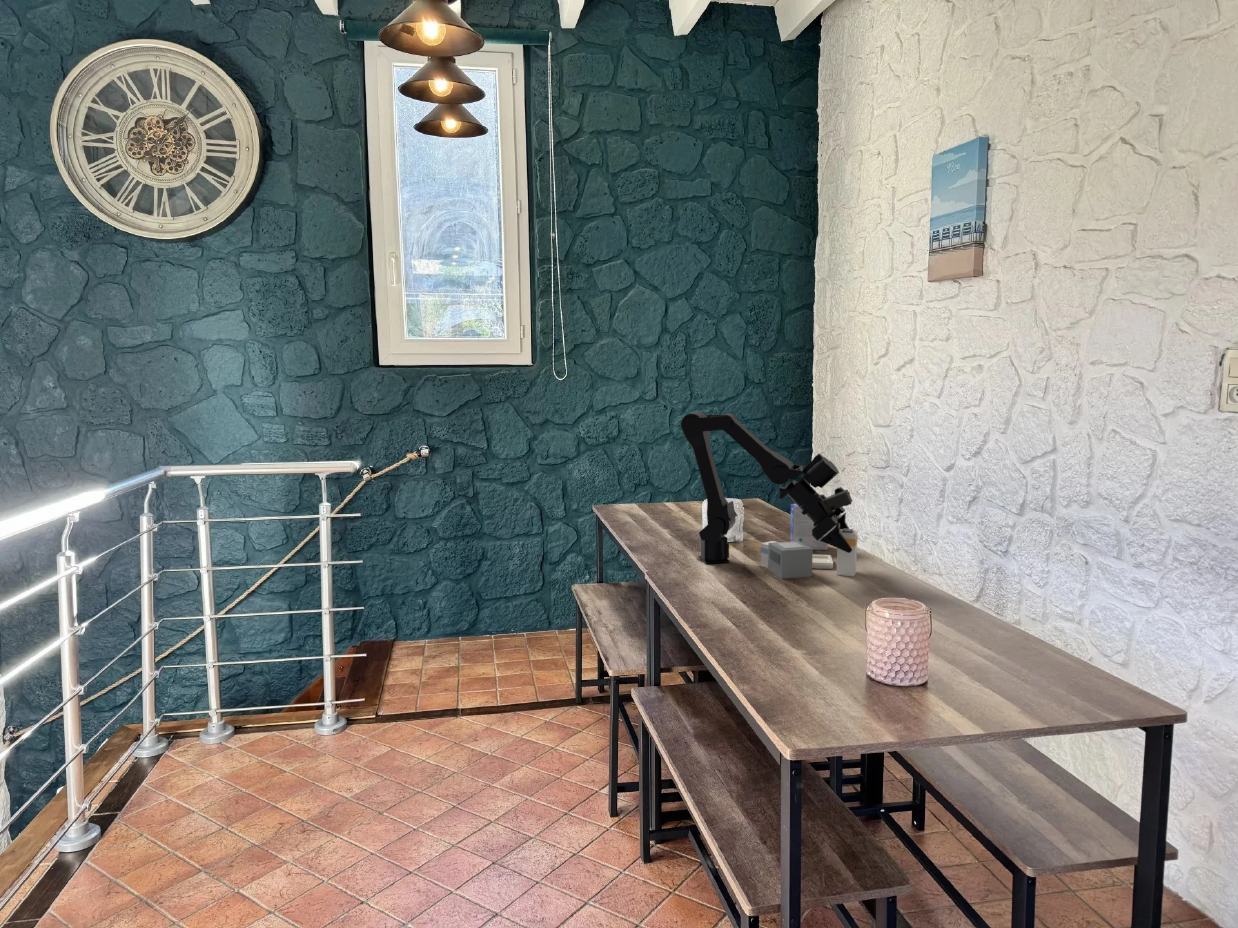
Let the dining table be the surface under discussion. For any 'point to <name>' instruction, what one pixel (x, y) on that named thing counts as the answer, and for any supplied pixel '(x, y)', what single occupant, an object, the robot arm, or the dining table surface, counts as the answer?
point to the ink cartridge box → (804, 529)
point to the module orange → (847, 554)
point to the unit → (790, 559)
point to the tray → (822, 561)
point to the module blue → (765, 553)
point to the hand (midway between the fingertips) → (852, 547)
